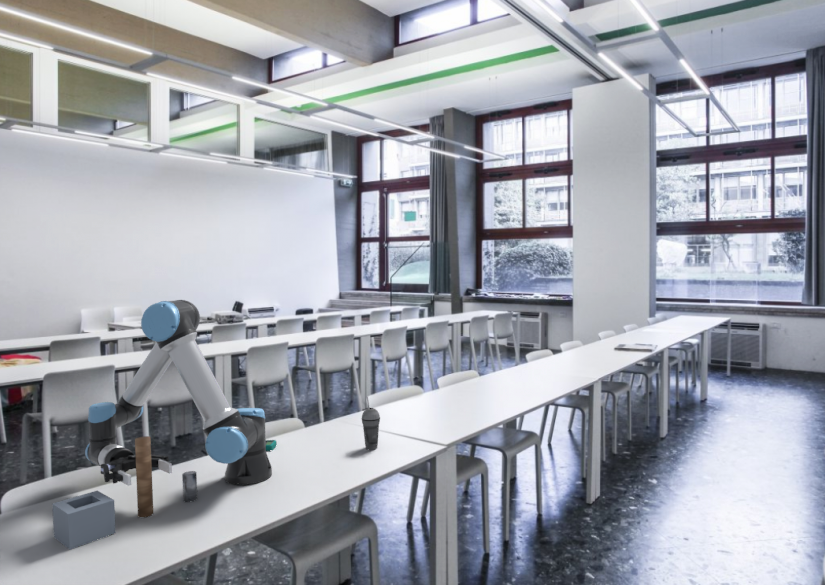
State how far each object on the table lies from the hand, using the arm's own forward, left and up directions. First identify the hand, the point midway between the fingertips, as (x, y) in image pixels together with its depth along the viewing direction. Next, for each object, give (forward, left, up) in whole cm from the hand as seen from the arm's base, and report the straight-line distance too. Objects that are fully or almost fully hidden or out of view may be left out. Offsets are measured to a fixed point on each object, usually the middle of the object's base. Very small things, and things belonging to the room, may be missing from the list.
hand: (150, 474), depth 157 cm
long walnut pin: (0, -4, -13) cm, 13 cm away
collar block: (+16, -4, -13) cm, 21 cm away
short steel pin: (-14, -4, -13) cm, 19 cm away
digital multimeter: (-56, -31, -13) cm, 65 cm away
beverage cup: (-83, +6, -13) cm, 84 cm away
